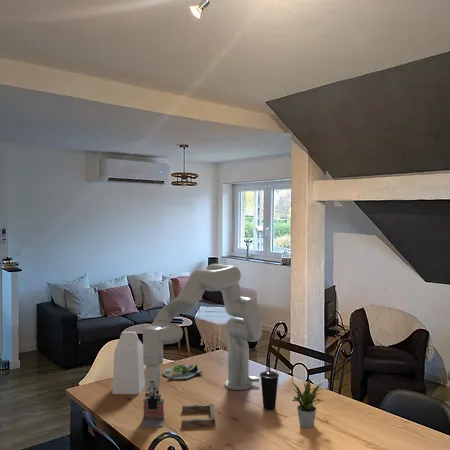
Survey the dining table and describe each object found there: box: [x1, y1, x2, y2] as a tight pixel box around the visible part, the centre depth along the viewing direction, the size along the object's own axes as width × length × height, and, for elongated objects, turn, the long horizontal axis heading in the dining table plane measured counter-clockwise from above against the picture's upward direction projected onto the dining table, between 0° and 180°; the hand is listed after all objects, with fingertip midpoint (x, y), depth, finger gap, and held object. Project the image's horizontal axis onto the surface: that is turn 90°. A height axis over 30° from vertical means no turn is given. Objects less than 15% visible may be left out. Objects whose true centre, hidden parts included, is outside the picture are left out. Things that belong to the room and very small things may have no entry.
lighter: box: [142, 392, 165, 421], centre depth 173 cm, size 8×3×10 cm, turn 82°
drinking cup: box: [259, 358, 280, 411], centre depth 183 cm, size 8×8×20 cm
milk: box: [111, 331, 145, 395], centre depth 204 cm, size 12×12×26 cm
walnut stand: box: [181, 403, 216, 428], centre depth 174 cm, size 12×14×2 cm
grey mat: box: [140, 411, 165, 429], centre depth 173 cm, size 8×12×1 cm, turn 5°
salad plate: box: [162, 363, 203, 380], centre depth 222 cm, size 19×18×5 cm
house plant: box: [291, 380, 326, 429], centre depth 168 cm, size 14×14×16 cm
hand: (153, 403), depth 173 cm, fingers open, 9 cm apart
